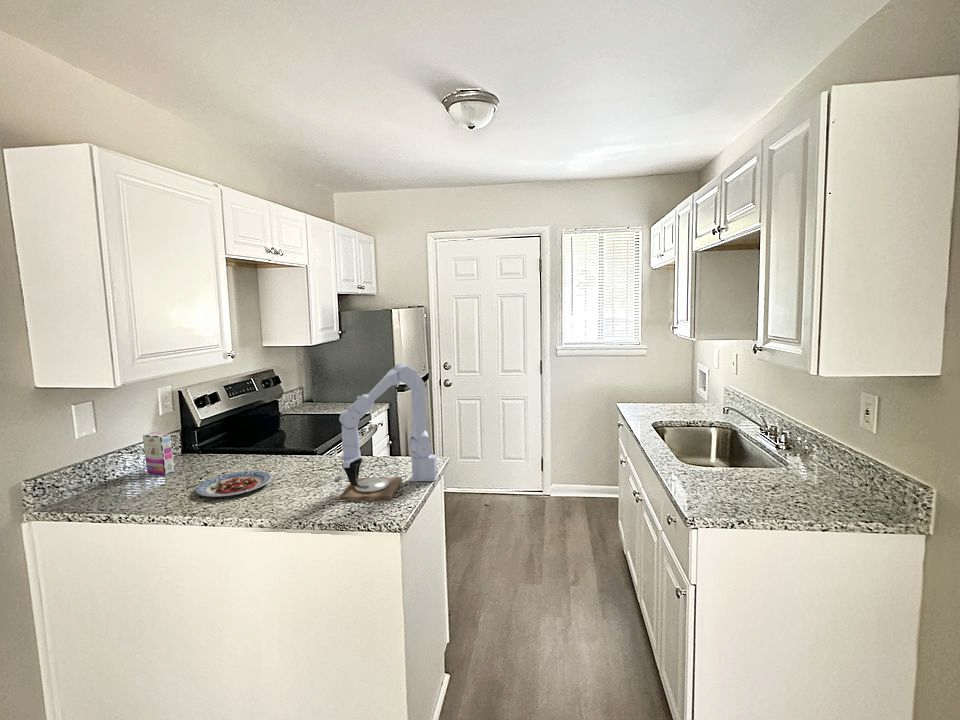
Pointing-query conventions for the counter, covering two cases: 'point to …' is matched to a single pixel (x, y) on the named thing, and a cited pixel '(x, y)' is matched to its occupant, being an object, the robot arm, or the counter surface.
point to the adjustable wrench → (344, 473)
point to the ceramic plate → (233, 483)
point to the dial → (370, 485)
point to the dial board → (380, 495)
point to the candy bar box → (159, 453)
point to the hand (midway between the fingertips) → (353, 480)
